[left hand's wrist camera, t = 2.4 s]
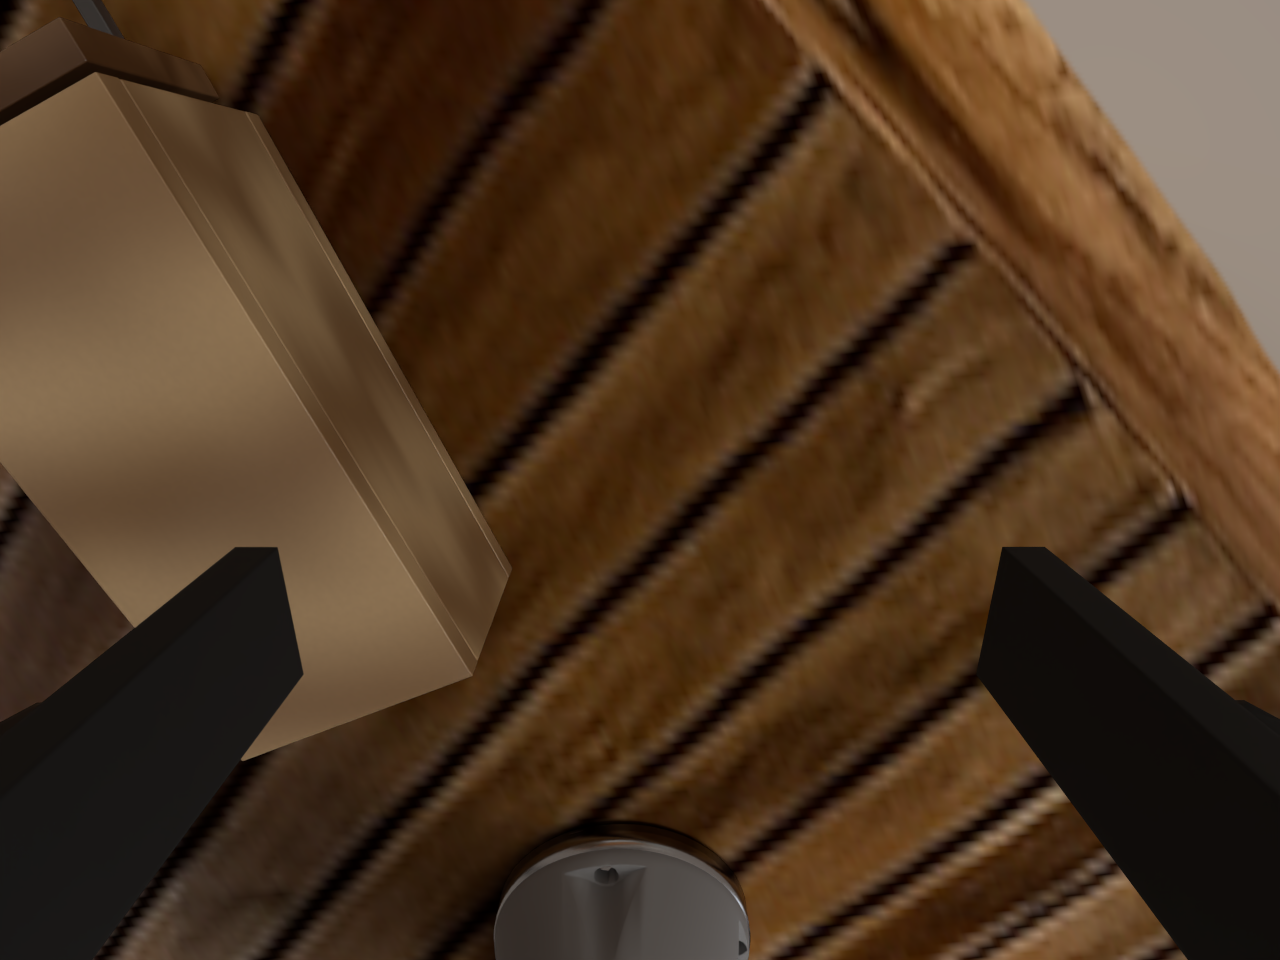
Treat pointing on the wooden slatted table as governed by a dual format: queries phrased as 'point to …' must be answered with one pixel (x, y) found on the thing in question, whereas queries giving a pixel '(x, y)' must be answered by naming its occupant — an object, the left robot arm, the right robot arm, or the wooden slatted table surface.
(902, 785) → the wooden slatted table surface
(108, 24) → the drawer
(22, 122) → the cabinet
